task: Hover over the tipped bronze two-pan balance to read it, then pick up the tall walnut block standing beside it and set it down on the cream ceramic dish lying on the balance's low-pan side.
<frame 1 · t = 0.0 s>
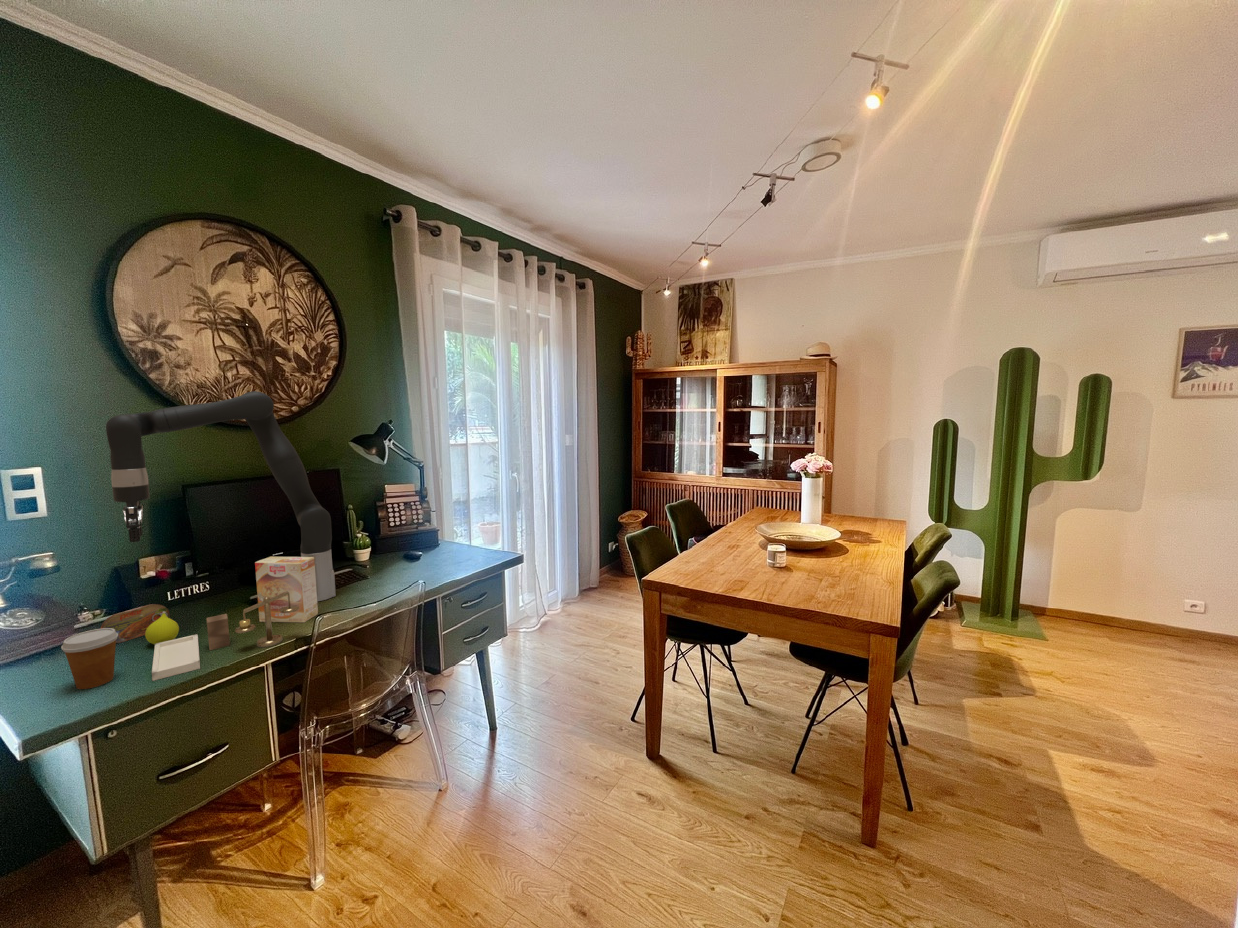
hand: (136, 538, 144), 29 cm above the table, fingers open, 8 cm apart
coffeecake box: (289, 618, 159), on the table
disposable coffee cup: (95, 683, 121), on the table
tin: (137, 636, 147), on the table
block: (219, 645, 141), on the table
ornament: (163, 644, 142), on the table
dish: (177, 659, 133), on the table
balance: (270, 642, 142), on the table
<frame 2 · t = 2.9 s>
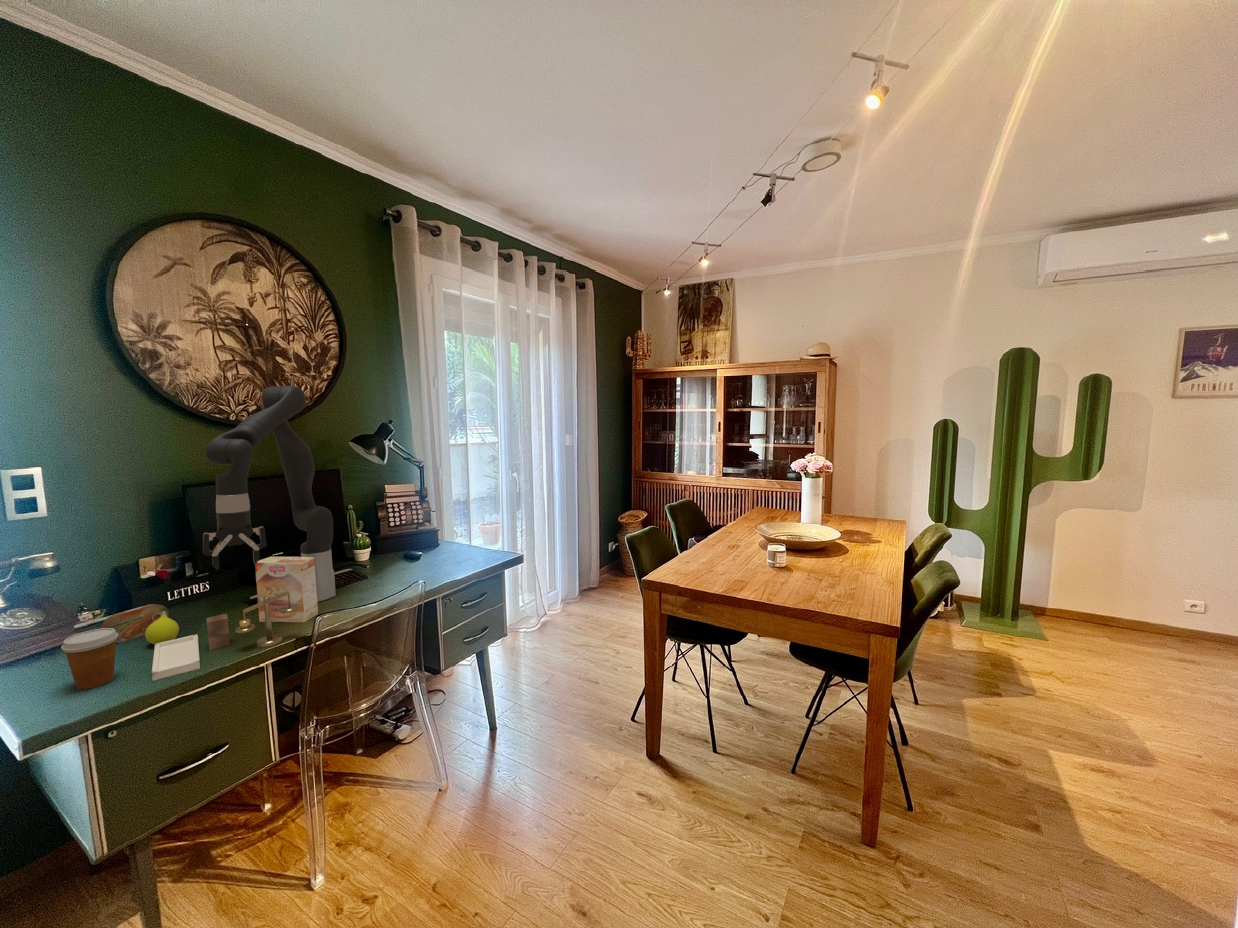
hand: (236, 565, 141), 22 cm above the table, fingers open, 8 cm apart
nothing on the table moved.
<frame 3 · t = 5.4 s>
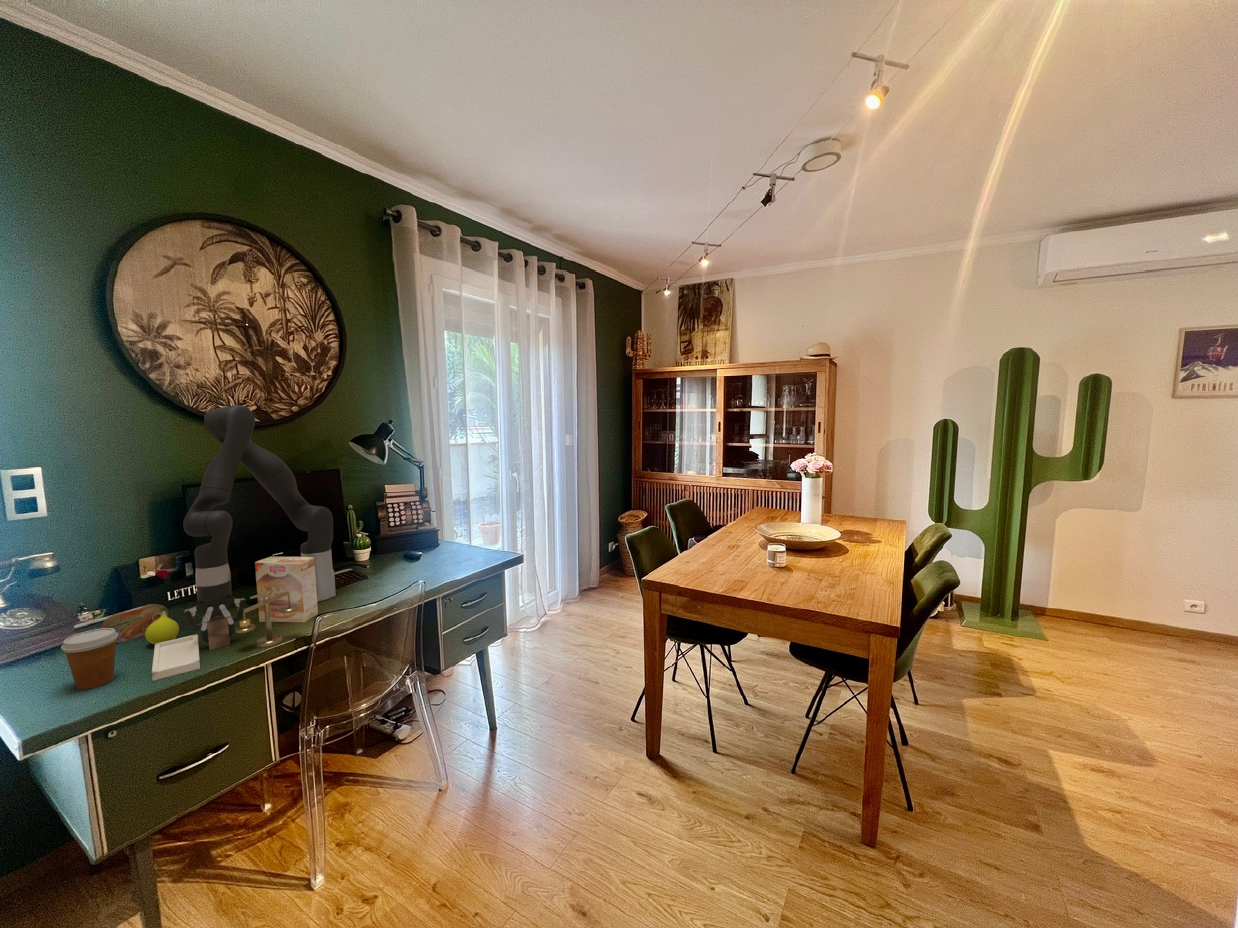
hand: (218, 638, 141), 2 cm above the table, fingers closed on block, 4 cm apart
block: (219, 644, 141), on the table, touching gripper
everything else where it was.
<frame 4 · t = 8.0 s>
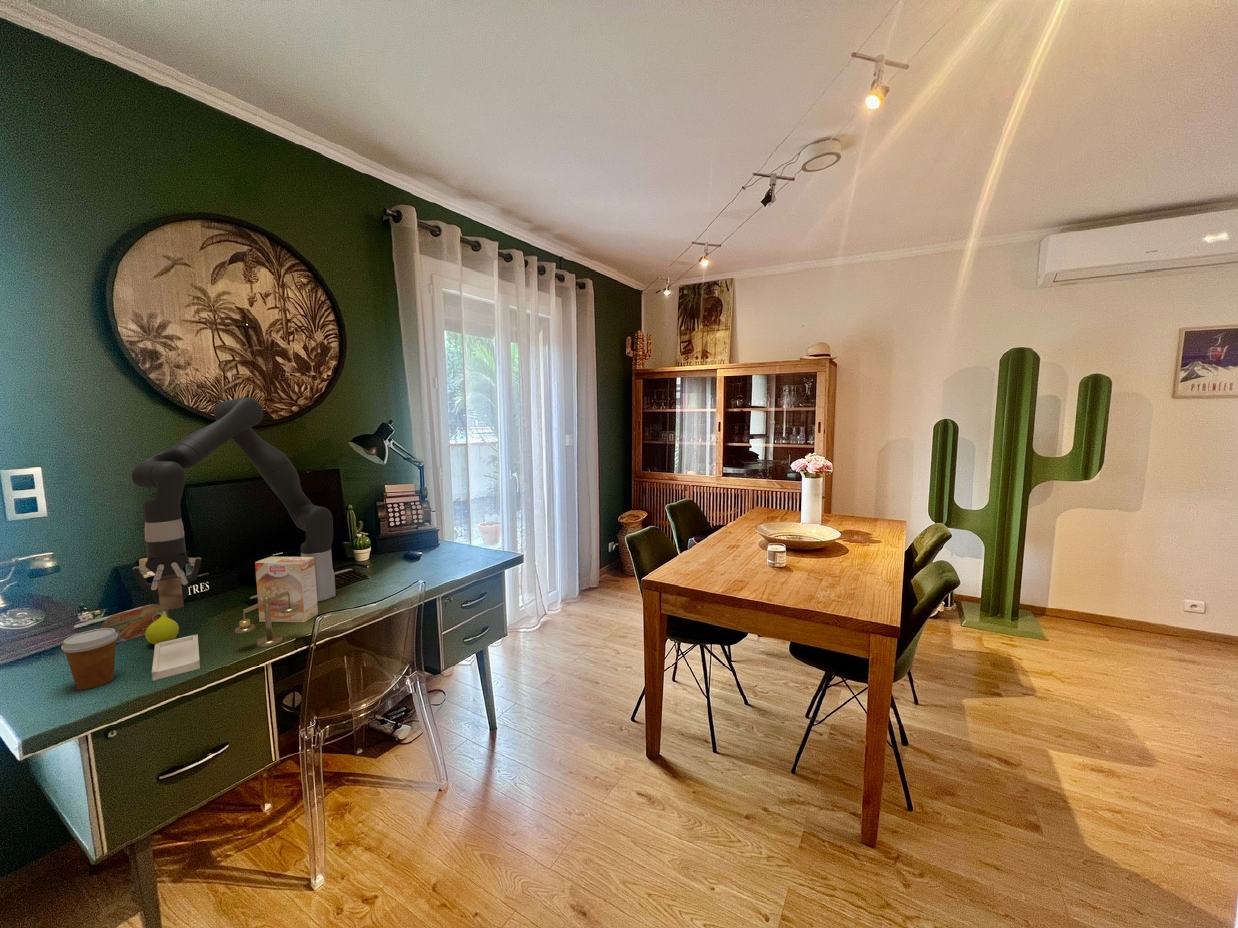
hand: (171, 599, 131), 17 cm above the table, fingers closed on block, 4 cm apart
block: (172, 606, 131), point 15 cm above the table, touching gripper
everything else where it was.
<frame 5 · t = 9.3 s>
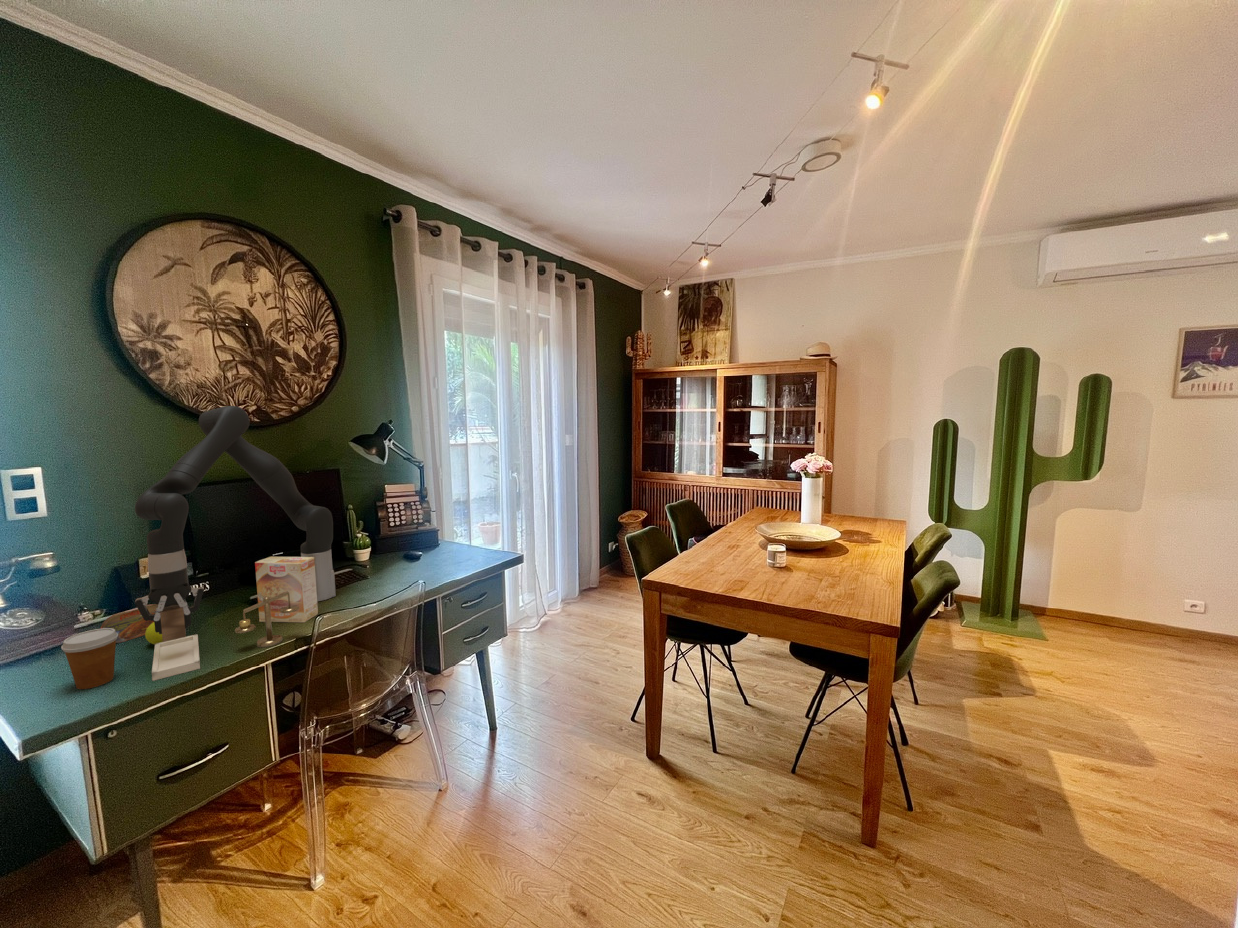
hand: (173, 629, 132), 8 cm above the table, fingers closed on block, 4 cm apart
block: (174, 636, 132), point 6 cm above the table, touching gripper
everything else where it was.
when the fingers open (4 cm above the table, at t = 10.5 s): block drops 1 cm, resting on dish.
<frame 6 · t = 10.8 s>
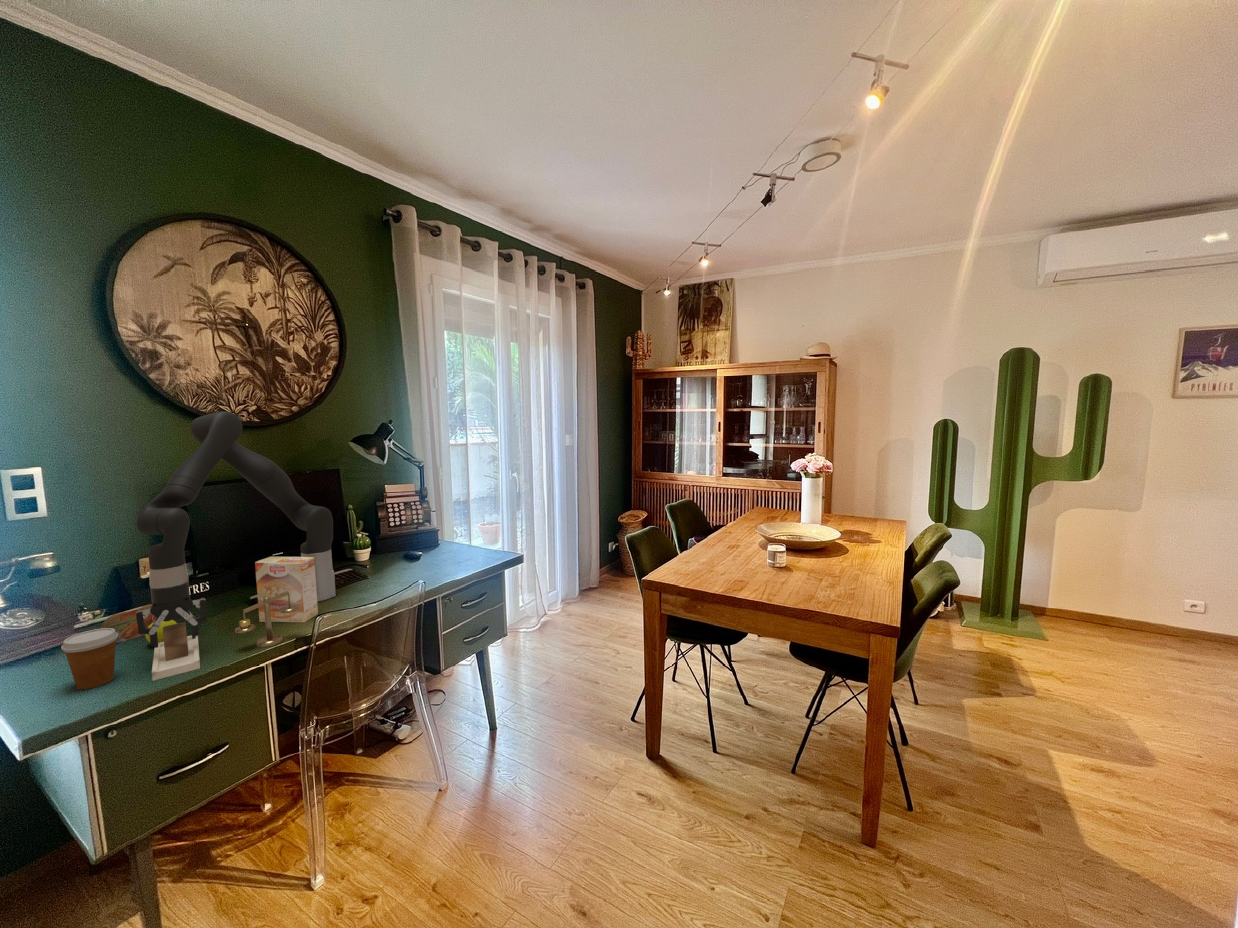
hand: (175, 642, 132), 5 cm above the table, fingers open, 7 cm apart
block: (177, 655, 133), point 1 cm above the table, touching dish
everything else where it was.
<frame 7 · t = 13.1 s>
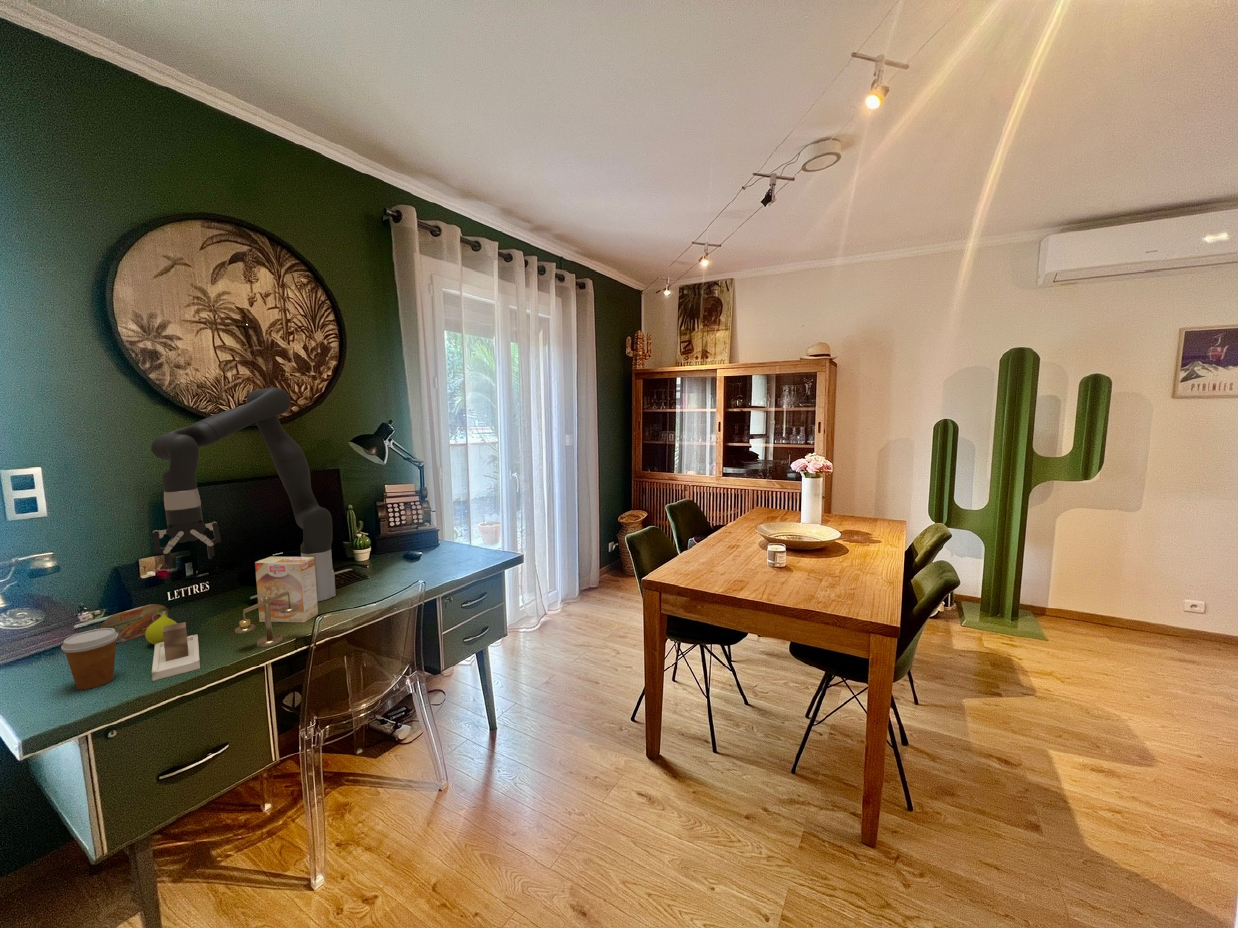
hand: (190, 562, 140), 24 cm above the table, fingers open, 8 cm apart
nothing on the table moved.
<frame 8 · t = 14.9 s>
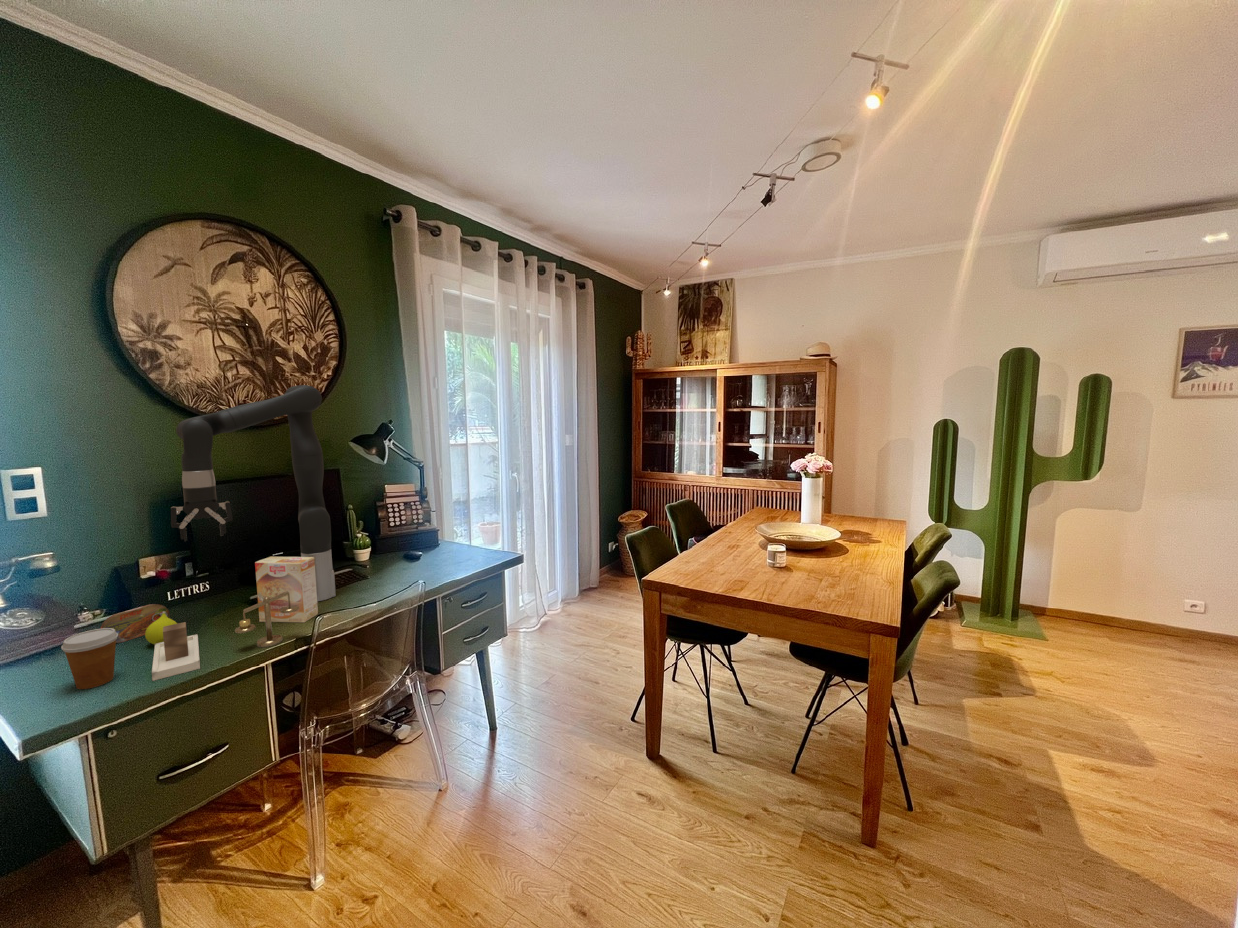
hand: (204, 537, 150), 28 cm above the table, fingers open, 8 cm apart
nothing on the table moved.
at the end: block inside the target area on the dish (0.1 cm from its centre), point 1.0 cm above the dish's base; the gripper is holding nothing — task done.
